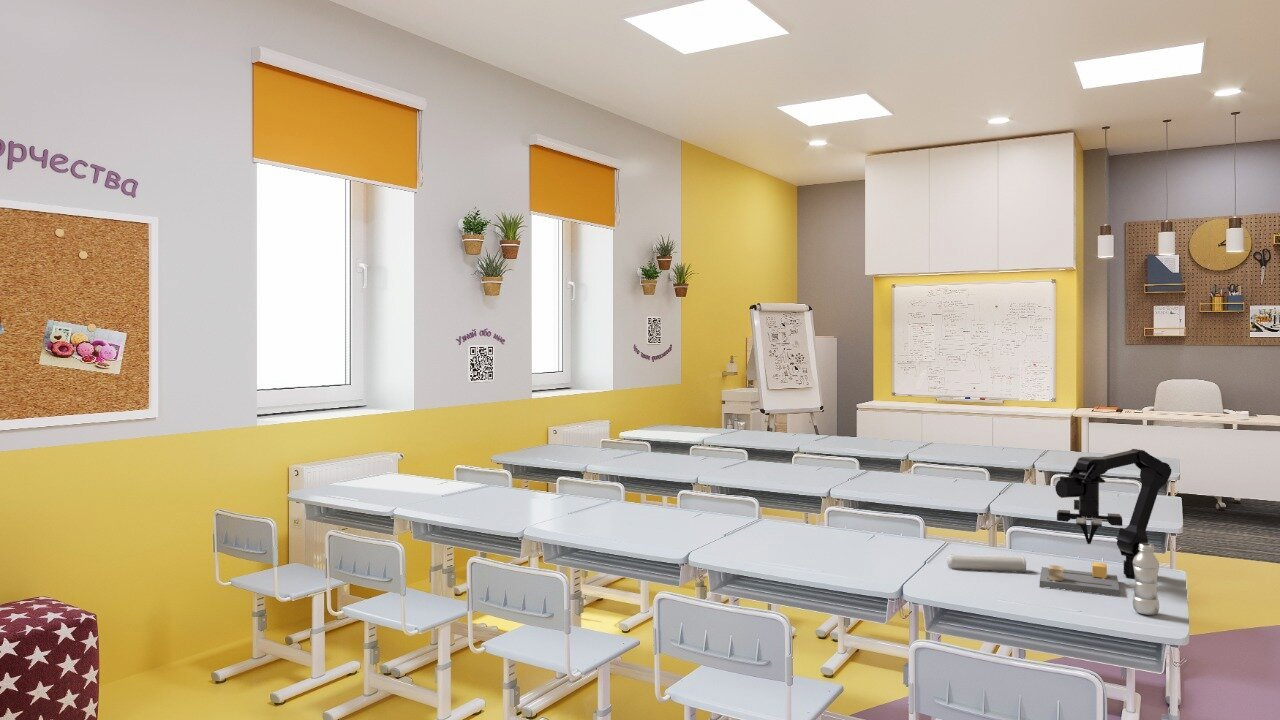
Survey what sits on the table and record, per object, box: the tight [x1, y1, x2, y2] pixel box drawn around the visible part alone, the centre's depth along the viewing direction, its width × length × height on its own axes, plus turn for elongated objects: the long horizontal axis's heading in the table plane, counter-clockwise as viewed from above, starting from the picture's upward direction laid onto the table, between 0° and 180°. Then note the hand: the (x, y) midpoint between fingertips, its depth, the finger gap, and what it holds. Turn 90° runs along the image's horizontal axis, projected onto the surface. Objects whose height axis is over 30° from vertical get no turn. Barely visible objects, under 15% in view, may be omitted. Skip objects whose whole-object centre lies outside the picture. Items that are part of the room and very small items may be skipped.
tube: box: [946, 554, 1027, 573], centre depth 286 cm, size 5×5×25 cm
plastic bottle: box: [1132, 542, 1161, 616], centre depth 239 cm, size 6×7×20 cm
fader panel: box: [1039, 566, 1120, 597], centre depth 268 cm, size 22×18×2 cm
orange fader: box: [1091, 561, 1108, 578], centre depth 270 cm, size 4×5×4 cm
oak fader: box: [1048, 564, 1064, 581], centre depth 267 cm, size 4×5×4 cm
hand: (1088, 543), depth 273 cm, fingers closed
